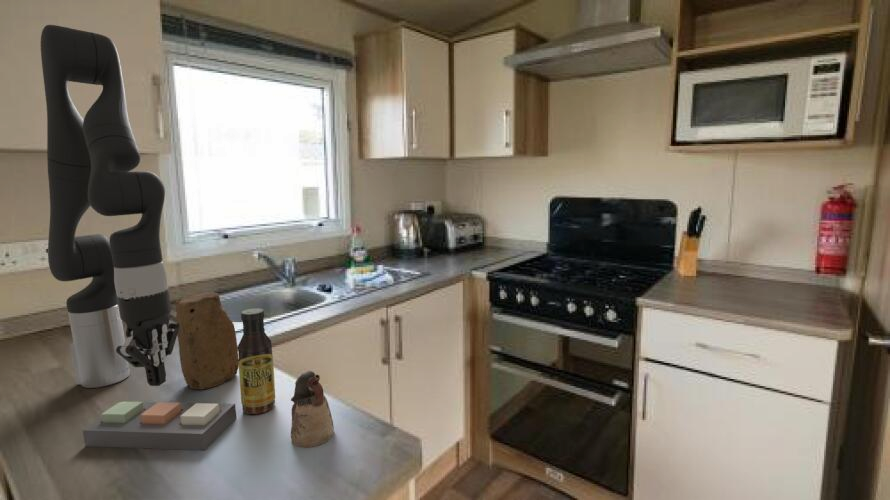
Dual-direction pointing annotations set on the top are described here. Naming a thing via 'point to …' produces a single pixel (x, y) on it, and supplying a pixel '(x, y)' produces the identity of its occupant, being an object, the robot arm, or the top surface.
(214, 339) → the brown sandstone rock
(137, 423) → the button panel
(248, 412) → the sauce bottle
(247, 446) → the top surface
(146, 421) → the terracotta button
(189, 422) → the cream button
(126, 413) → the sage button
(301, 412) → the figurine
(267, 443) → the top surface
